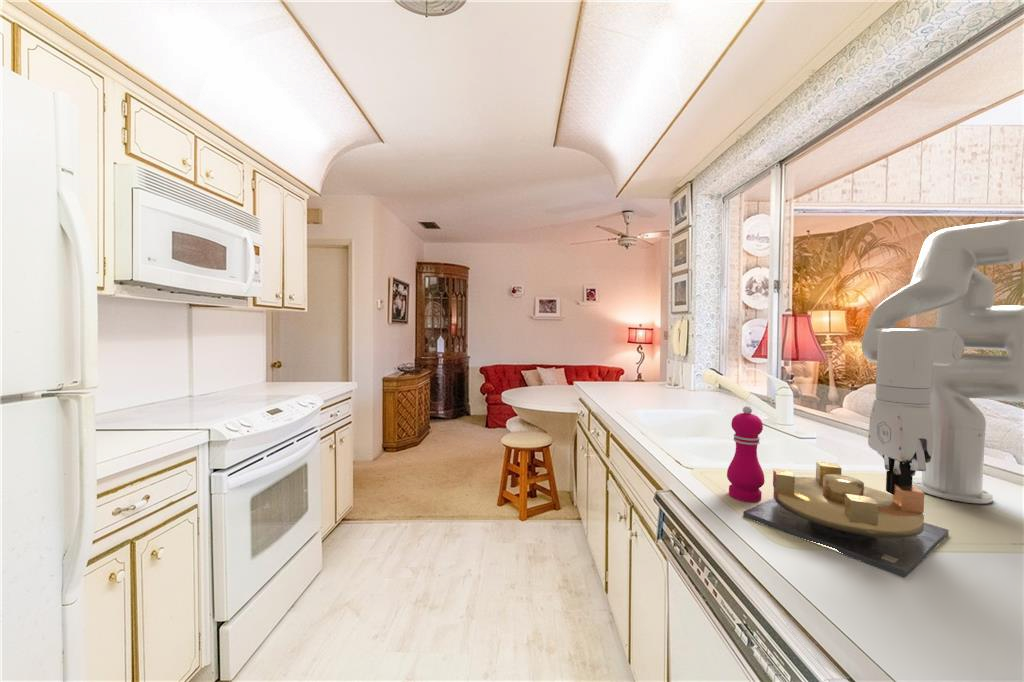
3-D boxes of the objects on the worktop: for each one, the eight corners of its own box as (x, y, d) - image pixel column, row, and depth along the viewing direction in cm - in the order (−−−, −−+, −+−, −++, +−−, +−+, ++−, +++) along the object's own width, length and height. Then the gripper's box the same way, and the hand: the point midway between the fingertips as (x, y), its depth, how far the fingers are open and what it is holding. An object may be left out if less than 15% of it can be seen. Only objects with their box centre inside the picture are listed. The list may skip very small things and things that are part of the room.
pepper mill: (769, 505, 89) (772, 410, 88) (732, 501, 90) (734, 408, 89) (756, 491, 96) (759, 403, 95) (722, 489, 97) (724, 402, 96)
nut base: (799, 490, 96) (800, 477, 96) (948, 535, 76) (949, 518, 76) (743, 516, 83) (743, 501, 83) (905, 578, 63) (905, 558, 63)
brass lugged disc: (819, 480, 94) (820, 456, 94) (952, 524, 73) (953, 493, 73) (747, 494, 86) (748, 468, 86) (873, 548, 65) (875, 513, 65)
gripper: (854, 388, 86) (851, 478, 86) (909, 402, 71) (904, 509, 72) (897, 389, 84) (893, 480, 85) (961, 404, 70) (956, 513, 70)
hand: (898, 493), depth 78 cm, fingers closed
